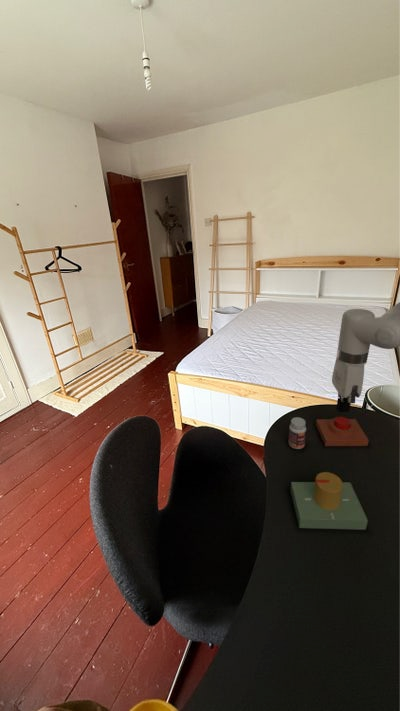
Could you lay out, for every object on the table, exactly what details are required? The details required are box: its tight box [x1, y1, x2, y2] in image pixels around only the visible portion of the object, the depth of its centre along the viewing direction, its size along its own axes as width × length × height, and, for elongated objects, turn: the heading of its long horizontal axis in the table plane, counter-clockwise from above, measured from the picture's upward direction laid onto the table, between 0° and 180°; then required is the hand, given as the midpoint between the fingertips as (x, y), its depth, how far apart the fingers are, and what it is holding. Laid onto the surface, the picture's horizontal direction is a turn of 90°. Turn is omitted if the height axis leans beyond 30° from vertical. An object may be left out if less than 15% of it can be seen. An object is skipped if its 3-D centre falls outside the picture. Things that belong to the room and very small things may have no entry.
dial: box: [314, 471, 343, 510], centre depth 67 cm, size 6×6×6 cm
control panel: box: [290, 481, 369, 531], centre depth 69 cm, size 14×10×3 cm
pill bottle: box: [288, 416, 307, 450], centre depth 88 cm, size 5×5×8 cm
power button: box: [335, 416, 350, 429], centre depth 90 cm, size 4×4×2 cm
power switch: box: [315, 417, 370, 447], centre depth 91 cm, size 12×10×4 cm
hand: (342, 410), depth 88 cm, fingers closed
